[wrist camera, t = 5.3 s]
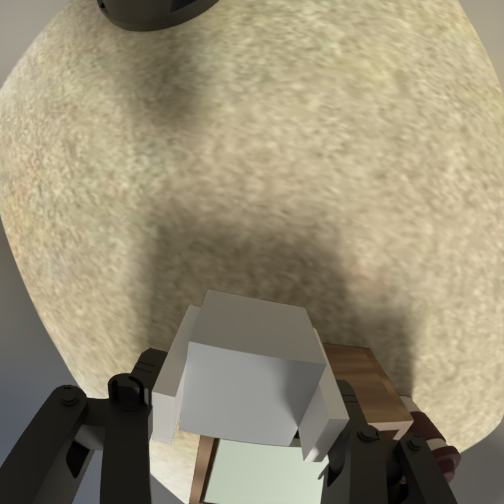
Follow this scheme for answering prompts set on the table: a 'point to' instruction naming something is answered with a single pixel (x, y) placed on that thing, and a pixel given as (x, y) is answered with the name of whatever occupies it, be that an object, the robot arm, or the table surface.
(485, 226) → the table surface
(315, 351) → the block
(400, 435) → the box frame
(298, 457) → the trapdoor
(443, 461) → the coffee cup
